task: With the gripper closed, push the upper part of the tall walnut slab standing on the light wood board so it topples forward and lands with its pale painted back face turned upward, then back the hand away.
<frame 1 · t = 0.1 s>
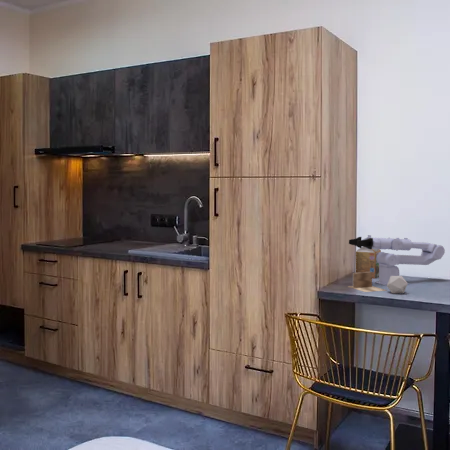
hand: (353, 242, 266), 22 cm above the table, tool horizontal, fingers open, 7 cm apart
light wood board: (366, 288, 260), on the table
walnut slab: (362, 286, 263), resting on light wood board
die: (397, 293, 248), on the table
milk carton: (368, 277, 296), on the table
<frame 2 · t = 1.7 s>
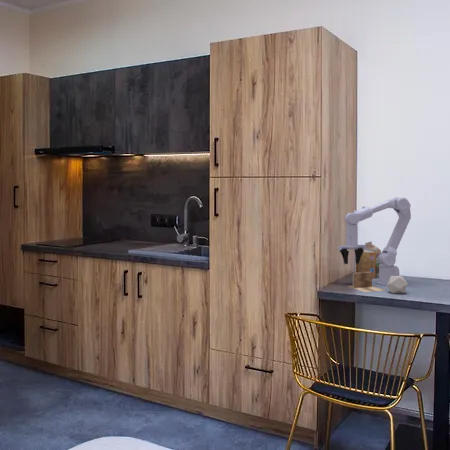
hand: (351, 263, 272), 10 cm above the table, tool pointing down, fingers open, 6 cm apart
nothing on the table moved.
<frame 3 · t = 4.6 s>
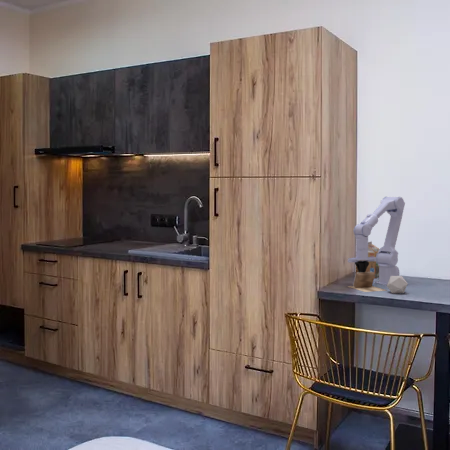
hand: (361, 276, 264), 5 cm above the table, tool pointing down, fingers closed
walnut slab: (362, 286, 263), point 1 cm above the table, tilted 21°, touching light wood board
everything else where it was.
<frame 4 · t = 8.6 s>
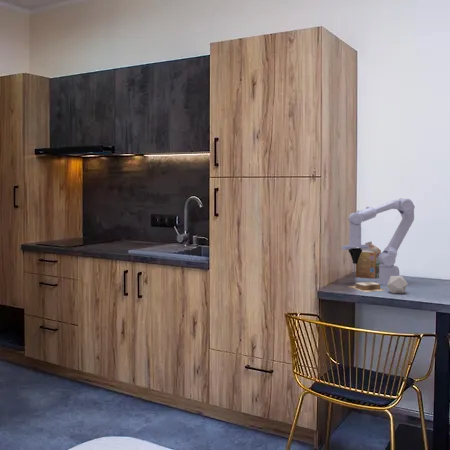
hand: (355, 263, 273), 10 cm above the table, tool pointing down, fingers closed
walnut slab: (363, 284, 262), point 1 cm above the table, tilted 90°, touching light wood board
everything else where it was.
at the end: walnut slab tilted 90°; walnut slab inside the target area (4.2 cm from its centre), point 1.4 cm above the table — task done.
